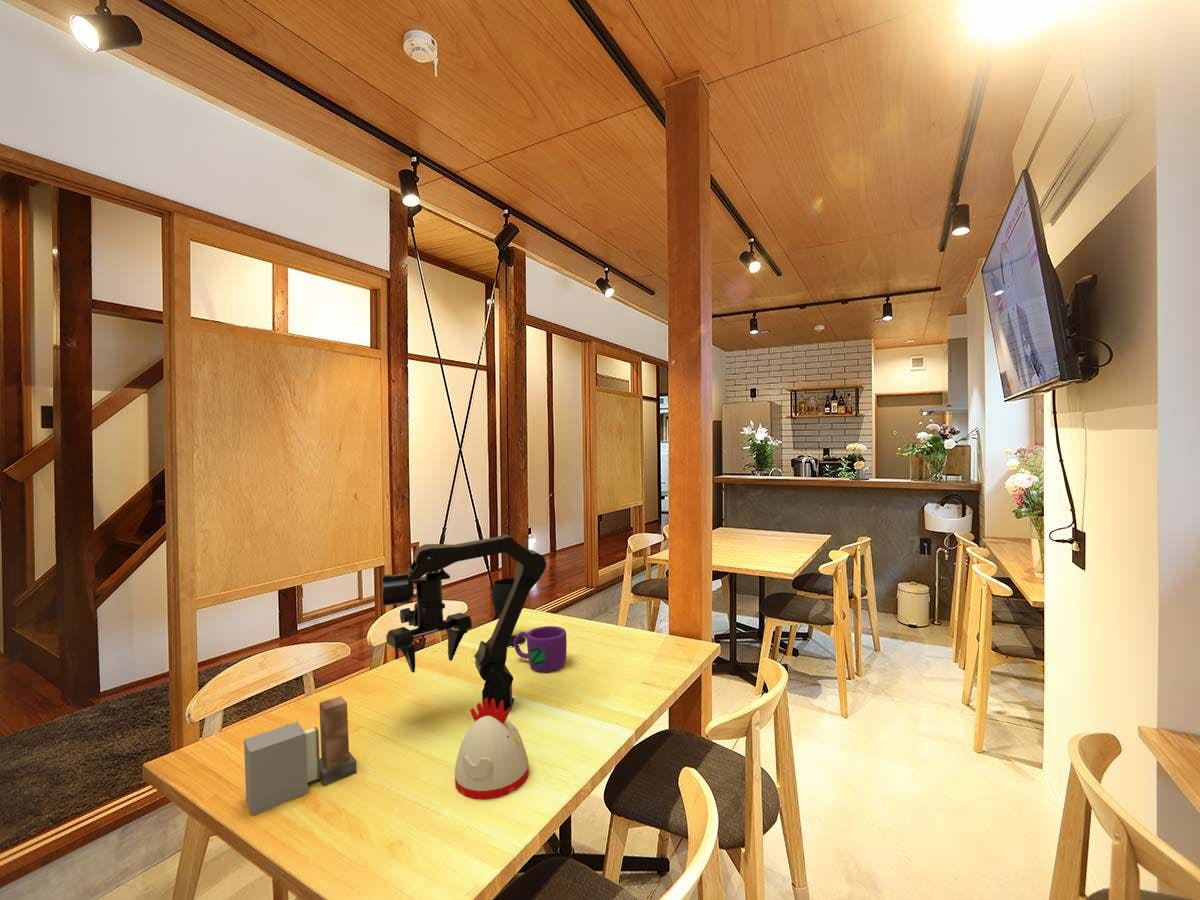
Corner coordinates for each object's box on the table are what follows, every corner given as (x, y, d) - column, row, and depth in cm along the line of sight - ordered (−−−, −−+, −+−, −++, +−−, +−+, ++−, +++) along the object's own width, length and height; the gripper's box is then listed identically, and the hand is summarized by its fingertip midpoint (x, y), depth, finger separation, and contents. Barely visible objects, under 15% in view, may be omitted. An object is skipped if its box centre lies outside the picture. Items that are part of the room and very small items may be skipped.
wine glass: (511, 649, 169) (508, 586, 169) (486, 644, 174) (484, 583, 174) (532, 639, 177) (529, 579, 177) (508, 634, 183) (506, 576, 183)
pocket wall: (299, 778, 104) (297, 721, 104) (307, 793, 100) (305, 733, 100) (246, 799, 98) (243, 739, 98) (252, 816, 94) (249, 752, 94)
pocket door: (318, 773, 104) (316, 726, 104) (320, 777, 103) (318, 729, 103) (270, 792, 99) (268, 743, 99) (272, 796, 98) (270, 746, 98)
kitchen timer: (509, 805, 94) (505, 720, 94) (440, 794, 98) (437, 712, 98) (539, 760, 108) (536, 685, 108) (477, 752, 111) (474, 680, 111)
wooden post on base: (347, 760, 110) (344, 692, 110) (356, 772, 106) (353, 702, 106) (315, 773, 106) (312, 702, 106) (323, 786, 102) (320, 713, 102)
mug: (574, 661, 157) (573, 628, 157) (554, 677, 147) (552, 641, 147) (525, 653, 165) (524, 621, 165) (503, 668, 155) (501, 633, 155)
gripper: (450, 585, 137) (453, 646, 137) (376, 601, 125) (379, 668, 124) (472, 593, 129) (474, 658, 129) (394, 611, 116) (397, 682, 116)
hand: (432, 666), depth 125 cm, fingers open, 9 cm apart
